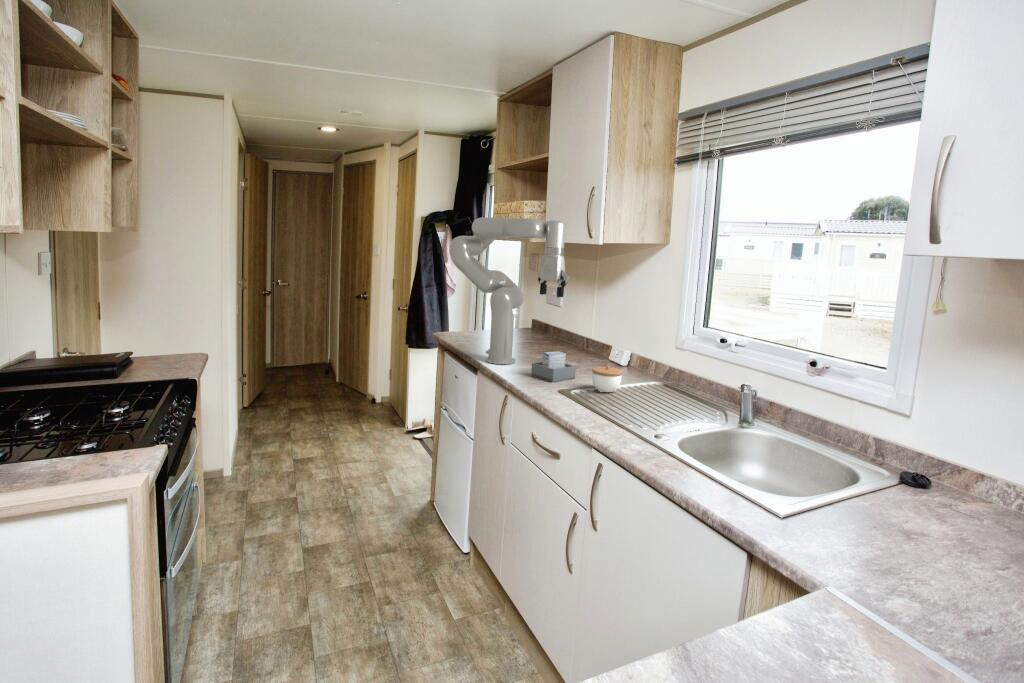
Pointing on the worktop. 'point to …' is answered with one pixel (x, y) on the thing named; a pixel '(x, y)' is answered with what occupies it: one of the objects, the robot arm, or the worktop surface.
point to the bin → (553, 372)
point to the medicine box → (554, 359)
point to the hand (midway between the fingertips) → (551, 295)
